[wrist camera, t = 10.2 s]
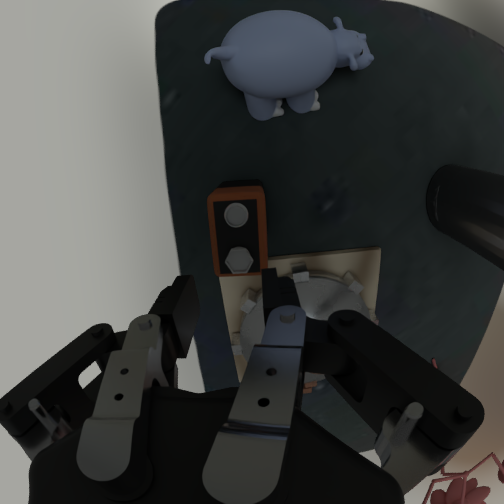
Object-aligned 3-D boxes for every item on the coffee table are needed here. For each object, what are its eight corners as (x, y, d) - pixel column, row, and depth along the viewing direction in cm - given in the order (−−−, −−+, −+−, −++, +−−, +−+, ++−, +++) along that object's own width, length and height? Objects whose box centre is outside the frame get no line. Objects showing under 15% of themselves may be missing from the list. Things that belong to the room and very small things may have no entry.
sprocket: (293, 231, 29) (304, 257, 22) (396, 308, 32) (421, 341, 25) (200, 349, 34) (190, 389, 28) (302, 396, 38) (308, 433, 31)
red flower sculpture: (344, 379, 38) (394, 579, 6) (465, 342, 37) (548, 476, 4) (336, 425, 44) (364, 576, 12) (442, 392, 43) (497, 510, 10)
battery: (225, 242, 30) (212, 284, 21) (220, 181, 28) (202, 197, 19) (264, 240, 30) (269, 282, 21) (261, 178, 28) (265, 193, 19)
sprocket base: (377, 246, 30) (389, 257, 27) (361, 366, 37) (368, 382, 34) (218, 261, 31) (214, 275, 28) (240, 381, 38) (239, 398, 35)
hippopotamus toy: (366, 105, 25) (409, 90, 16) (231, 129, 26) (220, 118, 17) (339, 23, 21) (367, -15, 12) (207, 42, 22) (188, 3, 14)
